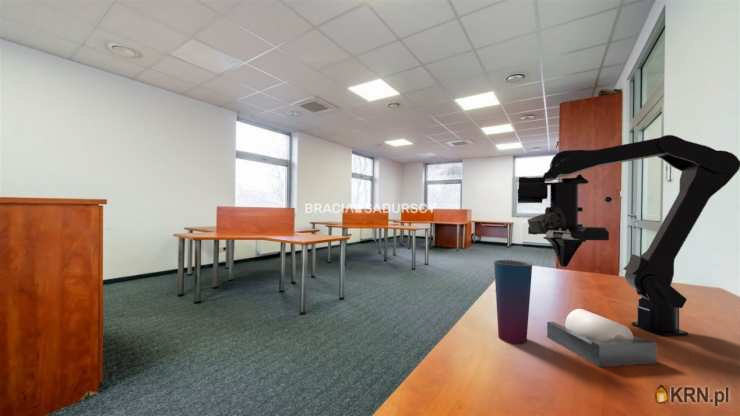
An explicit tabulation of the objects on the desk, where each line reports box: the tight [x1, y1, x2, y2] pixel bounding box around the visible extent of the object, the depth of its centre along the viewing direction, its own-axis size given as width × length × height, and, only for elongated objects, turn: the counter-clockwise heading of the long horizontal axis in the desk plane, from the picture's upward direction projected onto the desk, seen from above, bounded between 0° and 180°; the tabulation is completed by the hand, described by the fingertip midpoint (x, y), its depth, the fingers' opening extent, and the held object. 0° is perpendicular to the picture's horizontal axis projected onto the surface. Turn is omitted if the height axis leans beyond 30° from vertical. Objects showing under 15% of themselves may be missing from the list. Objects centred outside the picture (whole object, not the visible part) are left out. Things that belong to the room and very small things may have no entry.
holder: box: [546, 321, 658, 368], centre depth 53 cm, size 11×11×4 cm
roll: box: [564, 308, 634, 341], centre depth 53 cm, size 8×6×6 cm
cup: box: [493, 259, 533, 345], centre depth 57 cm, size 7×7×15 cm
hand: (563, 266), depth 71 cm, fingers closed
